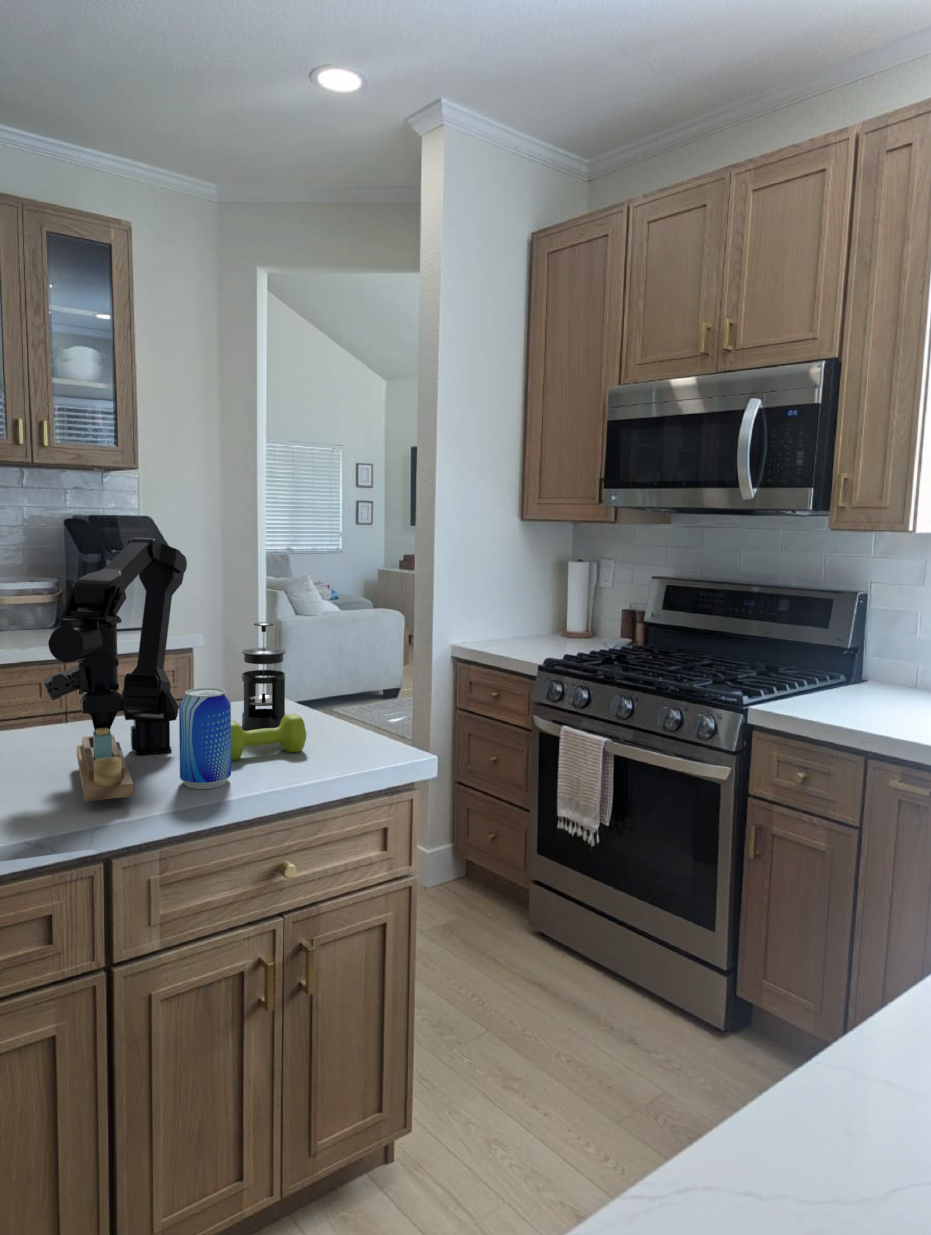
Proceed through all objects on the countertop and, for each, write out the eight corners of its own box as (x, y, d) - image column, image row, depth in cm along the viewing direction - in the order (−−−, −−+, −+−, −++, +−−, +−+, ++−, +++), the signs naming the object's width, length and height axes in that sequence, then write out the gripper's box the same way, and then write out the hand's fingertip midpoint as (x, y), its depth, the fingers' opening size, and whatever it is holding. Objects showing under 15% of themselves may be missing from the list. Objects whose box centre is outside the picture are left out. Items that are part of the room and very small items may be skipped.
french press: (230, 727, 188) (230, 621, 185) (267, 720, 195) (267, 618, 192) (262, 737, 180) (262, 627, 177) (299, 730, 187) (300, 624, 184)
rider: (110, 758, 148) (109, 725, 148) (112, 765, 145) (111, 731, 144) (93, 760, 147) (93, 726, 146) (95, 766, 144) (94, 732, 143)
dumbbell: (225, 765, 160) (225, 727, 160) (213, 754, 167) (213, 718, 166) (309, 755, 169) (310, 718, 168) (295, 745, 176) (295, 710, 175)
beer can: (203, 793, 144) (202, 699, 142) (169, 784, 149) (168, 692, 147) (241, 781, 151) (241, 691, 149) (207, 772, 156) (207, 684, 154)
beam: (119, 763, 159) (118, 723, 159) (133, 808, 136) (132, 761, 135) (77, 767, 156) (76, 726, 155) (84, 813, 133) (83, 766, 132)
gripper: (45, 646, 152) (48, 733, 154) (46, 664, 135) (49, 762, 137) (114, 643, 157) (115, 728, 158) (123, 660, 140) (124, 755, 142)
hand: (100, 742), depth 149 cm, fingers closed
